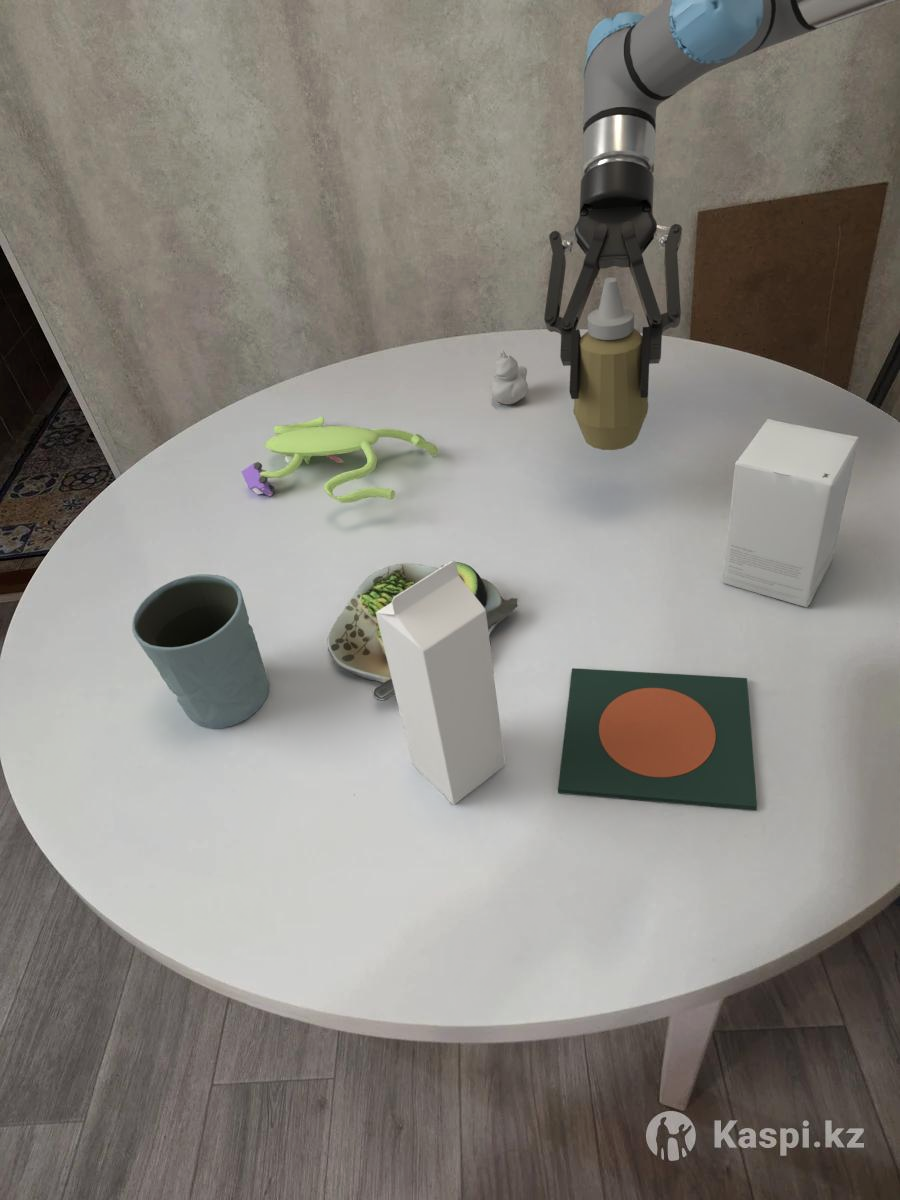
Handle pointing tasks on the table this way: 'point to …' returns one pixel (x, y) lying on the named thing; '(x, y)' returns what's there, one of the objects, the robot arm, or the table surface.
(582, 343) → the squeeze bottle
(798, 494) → the white product box
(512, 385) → the rubber duck
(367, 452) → the figurine
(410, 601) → the milk
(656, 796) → the mat
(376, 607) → the salad plate
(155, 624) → the grey-green cup
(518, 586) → the table surface
